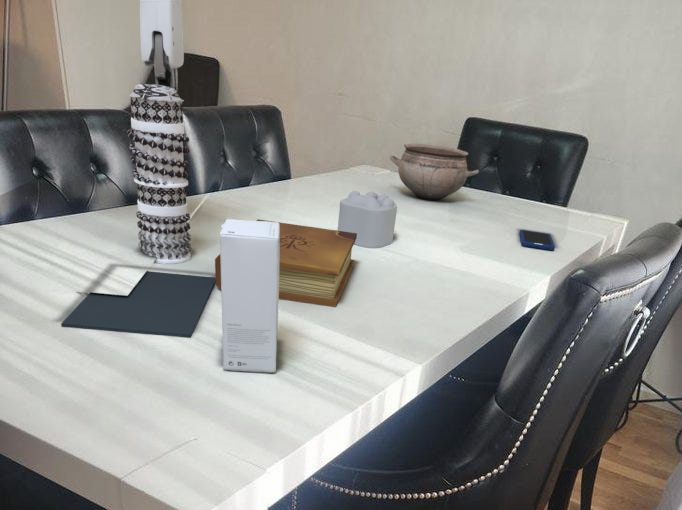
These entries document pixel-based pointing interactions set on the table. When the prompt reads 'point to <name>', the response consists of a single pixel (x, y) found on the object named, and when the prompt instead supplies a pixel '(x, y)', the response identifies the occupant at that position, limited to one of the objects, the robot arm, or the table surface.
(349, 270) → the diary
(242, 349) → the cosmetic box
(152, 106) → the decorative tower
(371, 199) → the lumpy-topped squat cylinder
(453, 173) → the cooking pot
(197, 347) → the table surface
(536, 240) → the cell phone
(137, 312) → the mat
